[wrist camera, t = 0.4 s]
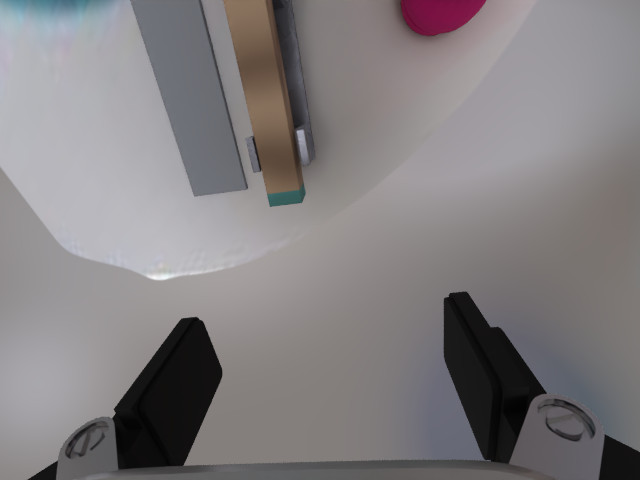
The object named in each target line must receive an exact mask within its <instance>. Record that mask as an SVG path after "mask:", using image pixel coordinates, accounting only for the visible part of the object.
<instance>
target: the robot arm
mask: <svg viewBox="0 0 640 480" xmlns="http://www.w3.org/2000/svg"><path fill="white" fill-rule="evenodd" d="M444 358H445V362H446V365H447V368H448V370H449V373H450V375H451V378H452V380H453V383H454V385H455V388H456V391H457V393H458V396H459V398H460V400H461V403H462V406H463V408H464V411H465V413H466V416H467V418H468V421H469V423H470V426H471V428H472V431H473V433H474V436H475V438H476V441H477V443H478V446H479V448H480V451H481V453H482V455H483V458H484V459H485V460H491V461H478V460H372V461H327V462H292V463H291V462H290V463H257V464H256V463H255V464H224V465H195V466H183V465H184V463H185V461H186V459H187V457H188V454H189V452H190V449H191V447H192V445H193V443H194V440H195V438H196V436H197V434H198V431H199V429H200V427H201V424H202V422H203V420H204V418H205V415H206V413H207V411H208V408H209V406H210V404H211V402H212V399H213V397H214V394H215V392H216V390H217V388H218V385H219V383H220V381H221V378H222V368H221V365H220V363H219V360H218V358H217V356H216V353H215V350H214V348H213V345H212V343H211V340H210V337H209V335H208V332H207V330H206V328H205V325H204V323H203V321H201V320H199V318H197V317H191V318H183V319H181V320H180V321H179V323H178V324H177V325H176V326H175V328H174V329H173V330H172V332H171V333H170V334H169V336H168V337H167V339H166V340H165V341H164V342H163V344H162V345H161V347H160V348H159V349H158V351H157V352H156V353H155V355H154V356H153V357H152V359H151V360H150V362H149V363H148V364H147V365H146V367H145V368H144V370H143V371H142V372H141V373H140V375H139V376H138V378H137V379H136V380H135V382H134V383H133V384H132V386H131V387H130V388H129V390H128V391H127V392H126V394H125V395H124V396H123V398H122V399H121V400H120V402H119V403H118V404H117V406H116V407H115V408H114V410H115V412H116V414H115V415H114V417H113V418H110V417H100V418H96V419H94V420H91V421H89V422H87V423H86V424H84V425H83V426H81V427H80V428H78V429H77V430H76V431H75V432H74V433H73V434H72V435H71V436H70V437H69V438H68V439H67V440H66V441H65V443H64V444H63V446H62V448H61V450H60V453H59V457H58V461H56V462H55V463H53V464H51V465H50V466H48V467H47V468H45V469H44V470H42V471H41V472H39V473H37V474H36V475H34V476H33V477H31V478H29V479H28V480H640V452H638V451H637V450H634V449H632V448H631V447H629V446H627V445H625V444H623V443H621V442H619V441H617V440H615V439H613V438H611V437H609V436H607V435H605V434H604V429H603V427H602V424H601V423H600V421H599V419H598V418H597V417H596V416H595V415H594V414H593V413H592V412H591V411H590V410H589V409H588V408H586V407H585V406H584V405H582V404H581V403H579V402H577V401H575V400H573V399H571V398H569V397H566V396H562V395H558V394H547V393H546V391H545V390H544V389H543V387H542V386H541V384H540V383H539V381H538V380H537V379H536V377H535V376H534V374H533V373H532V372H531V370H530V369H529V367H528V366H527V365H526V363H525V362H524V360H523V359H522V357H521V356H520V354H519V353H518V352H517V350H516V349H515V348H514V346H513V345H512V343H511V342H510V340H509V339H508V337H507V336H506V335H505V333H504V332H503V331H502V329H501V328H499V327H490V326H489V324H488V323H487V321H486V320H485V318H484V317H483V315H482V314H481V312H480V311H479V309H478V308H477V306H476V305H475V303H474V301H473V300H472V299H471V297H470V295H469V294H468V293H467V292H458V293H450V294H449V297H447V298H444Z"/></svg>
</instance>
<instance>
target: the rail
mask: <svg viewBox="0 0 640 480" xmlns="http://www.w3.org/2000/svg"><path fill="white" fill-rule="evenodd" d="M223 1H224V6H225V10H226V14H227V19H228V23H229V28H230V32H231V36H232V41H233V45H234V50H235V54H236V59H237V63H238V67H239V72H240V76H241V81H242V85H243V89H244V94H245V98H246V103H247V107H248V111H249V116H250V120H251V125H252V129H253V134H254V138H255V142H256V147H257V151H258V156H259V160H260V164H261V169H262V173H263V178H264V182H265V186H266V191H267V195H268V200H269V204H270V207H272V206H280V205H288V204H295V203H302V201H303V199H304V196H305V194H306V193H305V187H304V182H303V176H302V170H301V165H300V159H299V153H298V147H297V142H296V136H295V130H294V124H293V119H292V113H291V107H290V101H289V96H288V90H287V84H286V79H285V73H284V67H283V61H282V56H281V50H280V44H279V38H278V33H277V27H276V21H275V16H274V10H273V4H272V0H223Z"/></svg>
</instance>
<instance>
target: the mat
mask: <svg viewBox="0 0 640 480" xmlns="http://www.w3.org/2000/svg"><path fill="white" fill-rule="evenodd" d="M130 1H131V4H132V7H133V10H134V13H135V16H136V19H137V22H138V25H139V28H140V31H141V34H142V38H143V41H144V44H145V47H146V50H147V53H148V56H149V59H150V62H151V65H152V68H153V71H154V74H155V77H156V80H157V83H158V86H159V90H160V93H161V96H162V99H163V102H164V105H165V108H166V111H167V114H168V117H169V120H170V123H171V126H172V129H173V132H174V135H175V139H176V142H177V145H178V148H179V151H180V154H181V157H182V160H183V163H184V166H185V169H186V172H187V175H188V178H189V181H190V184H191V188H192V191H193V194H194V196H202V195H209V194H216V193H224V192H231V191H239V190H246V189H247V188H248V187H247V183H246V179H245V175H244V171H243V167H242V163H241V159H240V155H239V151H238V147H237V143H236V139H235V135H234V131H233V127H232V123H231V119H230V115H229V111H228V108H227V104H226V100H225V96H224V92H223V88H222V84H221V80H220V76H219V72H218V68H217V64H216V60H215V56H214V52H213V48H212V44H211V40H210V36H209V32H208V28H207V24H206V20H205V16H204V12H203V8H202V4H201V0H130Z"/></svg>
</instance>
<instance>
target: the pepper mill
mask: <svg viewBox="0 0 640 480" xmlns="http://www.w3.org/2000/svg"><path fill="white" fill-rule="evenodd" d="M485 2H486V0H401V8H402V13H403V17H404V19H405V21H406V23H407V25H408V26H409V27H410V28H411V29H412V30H413V31H415V32H416V33H419V34H421V35H426V36H431V35H437V34H440V33H446V32H450V31H453V30H456V29H458V28H459V27H461V26H463V25H464V24H466V23H467V22H468V21H469V20H470V19H471V18H472V17H473V16H474V15H475V14H476V13H477V12H478V11H479V10H480V9H481V8H482V6H483V5H484V4H485Z"/></svg>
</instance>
